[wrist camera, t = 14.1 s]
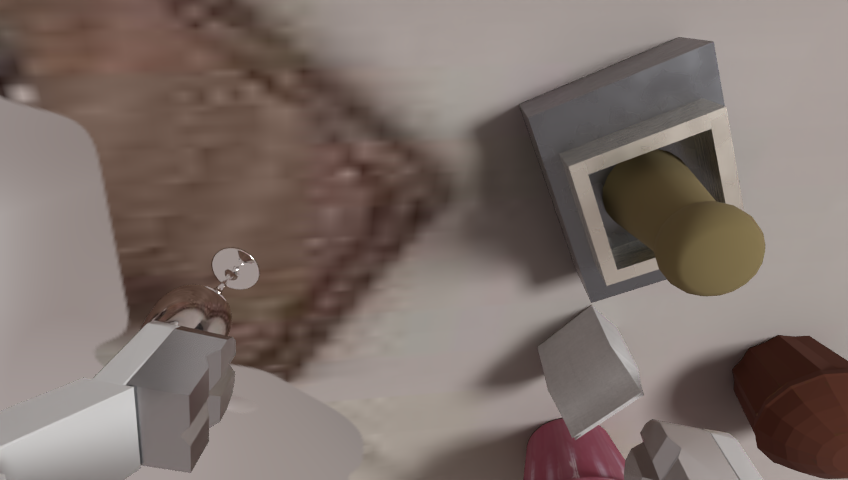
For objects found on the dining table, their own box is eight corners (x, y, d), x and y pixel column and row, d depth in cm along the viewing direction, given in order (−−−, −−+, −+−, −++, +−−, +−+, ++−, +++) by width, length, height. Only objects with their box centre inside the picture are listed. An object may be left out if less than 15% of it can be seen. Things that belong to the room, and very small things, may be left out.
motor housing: (518, 104, 37) (534, 127, 30) (679, 37, 34) (739, 45, 27) (576, 271, 43) (601, 325, 36) (717, 225, 40) (774, 273, 33)
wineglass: (199, 281, 46) (121, 366, 35) (212, 231, 43) (132, 306, 33) (257, 303, 46) (198, 392, 36) (273, 255, 44) (215, 336, 33)
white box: (537, 346, 47) (557, 427, 38) (591, 304, 45) (626, 379, 36) (562, 367, 48) (588, 450, 39) (617, 327, 45) (657, 405, 36)
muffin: (694, 395, 49) (748, 483, 40) (760, 309, 44) (839, 387, 35) (797, 425, 50) (874, 518, 41) (873, 344, 45) (978, 429, 36)
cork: (630, 136, 33) (707, 192, 23) (707, 166, 33) (815, 234, 23) (586, 212, 35) (639, 292, 25) (659, 239, 36) (738, 328, 26)
